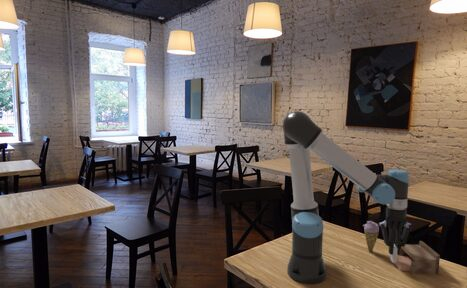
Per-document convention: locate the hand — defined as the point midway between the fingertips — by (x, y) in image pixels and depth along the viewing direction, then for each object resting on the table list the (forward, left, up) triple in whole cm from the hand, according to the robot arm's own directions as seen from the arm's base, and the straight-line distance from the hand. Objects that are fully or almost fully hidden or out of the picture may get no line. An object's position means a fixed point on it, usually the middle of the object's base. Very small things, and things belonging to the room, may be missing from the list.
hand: (393, 261), depth 129 cm
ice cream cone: (-6, +12, -2) cm, 13 cm away
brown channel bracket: (+9, 0, -2) cm, 10 cm away
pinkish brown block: (+7, 0, -2) cm, 7 cm away
